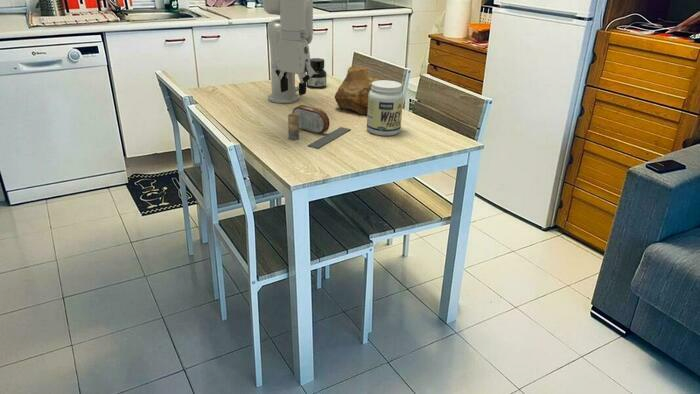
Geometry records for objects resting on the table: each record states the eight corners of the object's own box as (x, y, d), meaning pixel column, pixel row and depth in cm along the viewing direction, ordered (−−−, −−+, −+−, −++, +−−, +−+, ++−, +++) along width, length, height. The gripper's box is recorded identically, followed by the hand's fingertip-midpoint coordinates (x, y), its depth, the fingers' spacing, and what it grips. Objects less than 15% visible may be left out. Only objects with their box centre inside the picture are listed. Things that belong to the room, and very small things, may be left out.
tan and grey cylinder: (292, 135, 181) (292, 112, 177) (301, 137, 179) (301, 114, 176) (286, 138, 178) (285, 115, 174) (295, 140, 176) (295, 117, 173)
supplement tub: (377, 138, 181) (380, 89, 174) (360, 127, 191) (362, 80, 183) (407, 134, 186) (411, 86, 179) (389, 123, 196) (392, 78, 189)
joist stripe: (340, 128, 189) (340, 127, 189) (350, 130, 188) (350, 129, 188) (307, 146, 172) (307, 145, 172) (318, 148, 170) (318, 147, 170)
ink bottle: (307, 89, 235) (307, 62, 230) (304, 84, 243) (304, 57, 237) (328, 88, 237) (329, 61, 232) (325, 83, 245) (325, 57, 239)
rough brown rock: (325, 104, 218) (323, 68, 210) (361, 97, 224) (361, 62, 216) (349, 123, 200) (348, 84, 192) (388, 115, 205) (388, 77, 198)
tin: (329, 134, 183) (330, 110, 180) (324, 136, 181) (324, 113, 177) (296, 125, 191) (296, 102, 187) (290, 127, 188) (290, 104, 185)
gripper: (323, 37, 163) (322, 94, 171) (276, 30, 170) (278, 86, 178) (310, 40, 157) (309, 99, 165) (262, 33, 164) (264, 91, 172)
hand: (293, 92), depth 171 cm, fingers open, 6 cm apart
